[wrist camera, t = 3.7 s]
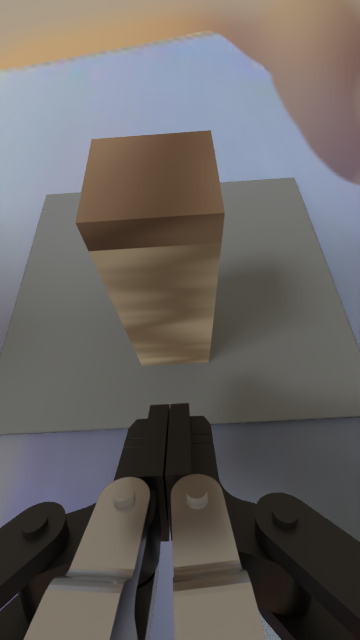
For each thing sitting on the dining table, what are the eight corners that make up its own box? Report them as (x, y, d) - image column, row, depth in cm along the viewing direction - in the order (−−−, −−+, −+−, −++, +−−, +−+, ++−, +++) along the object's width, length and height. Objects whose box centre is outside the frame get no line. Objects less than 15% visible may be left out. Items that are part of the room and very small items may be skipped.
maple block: (141, 366, 19) (75, 222, 8) (143, 309, 21) (91, 139, 11) (208, 362, 19) (224, 212, 8) (203, 305, 21) (210, 130, 11)
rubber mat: (-18, 436, 18) (-23, 435, 17) (48, 198, 28) (46, 194, 28) (379, 415, 17) (383, 414, 17) (292, 181, 28) (294, 177, 28)
